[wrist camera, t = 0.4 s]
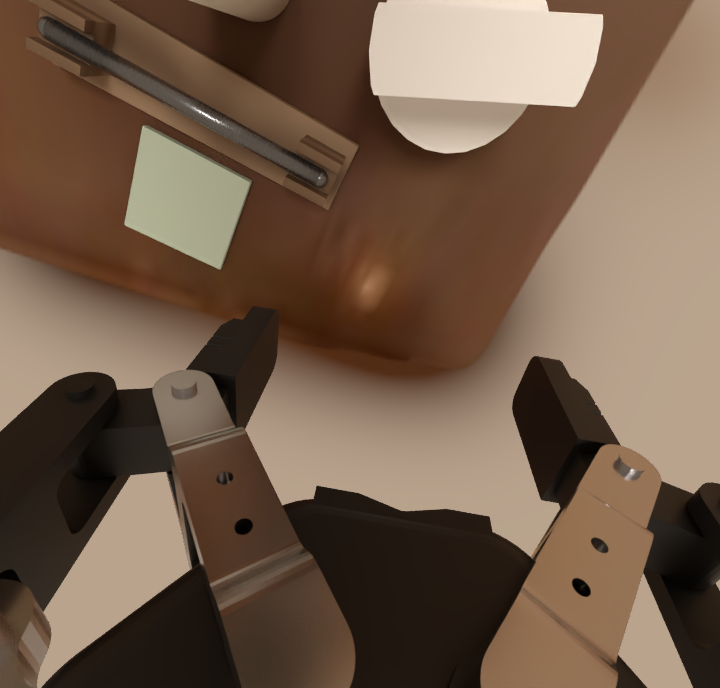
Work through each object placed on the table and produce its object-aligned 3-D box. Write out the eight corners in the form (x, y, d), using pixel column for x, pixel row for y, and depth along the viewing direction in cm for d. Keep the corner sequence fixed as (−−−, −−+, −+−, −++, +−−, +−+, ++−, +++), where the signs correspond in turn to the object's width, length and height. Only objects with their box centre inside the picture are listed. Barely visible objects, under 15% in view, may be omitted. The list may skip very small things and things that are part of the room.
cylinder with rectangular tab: (370, 134, 29) (363, 170, 19) (380, -39, 24) (376, -114, 14) (498, 142, 29) (558, 182, 19) (536, -30, 23) (646, -101, 14)
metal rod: (46, 12, 23) (32, 10, 22) (332, 172, 27) (330, 176, 26) (45, 35, 24) (31, 34, 23) (324, 188, 28) (322, 192, 27)
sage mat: (146, 124, 29) (142, 125, 29) (252, 180, 31) (250, 182, 30) (128, 222, 33) (124, 225, 33) (222, 266, 35) (220, 269, 34)
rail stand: (66, -27, 25) (18, -41, 21) (359, 144, 29) (355, 154, 26) (59, 62, 27) (16, 61, 24) (329, 207, 32) (323, 223, 28)
